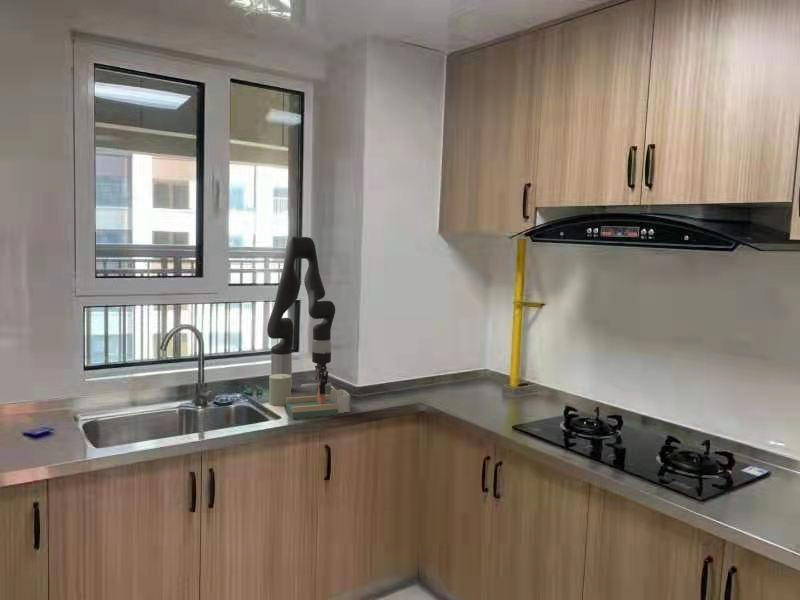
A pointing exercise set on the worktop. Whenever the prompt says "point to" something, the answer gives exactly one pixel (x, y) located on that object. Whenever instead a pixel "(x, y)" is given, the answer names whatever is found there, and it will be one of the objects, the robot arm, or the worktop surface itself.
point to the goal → (340, 400)
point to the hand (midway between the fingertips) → (321, 392)
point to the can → (279, 389)
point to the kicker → (320, 397)
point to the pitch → (310, 407)
